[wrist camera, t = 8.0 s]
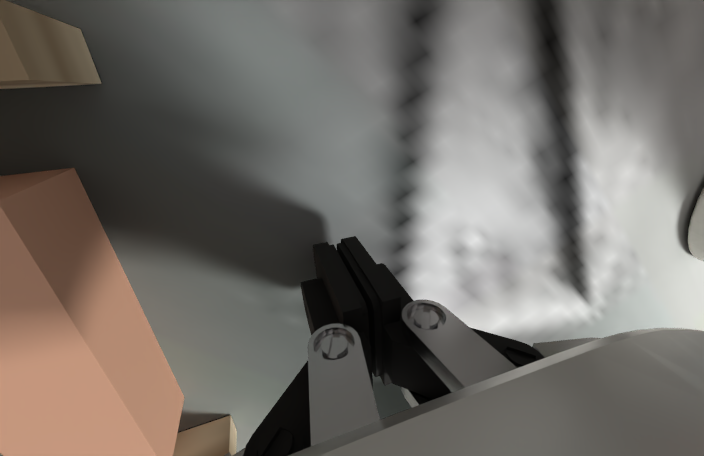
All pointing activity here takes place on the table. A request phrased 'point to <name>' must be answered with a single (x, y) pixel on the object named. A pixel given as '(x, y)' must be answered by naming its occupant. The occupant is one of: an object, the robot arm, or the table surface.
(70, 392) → the t block
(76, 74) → the wooden u-shaped bracket
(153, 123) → the table surface
